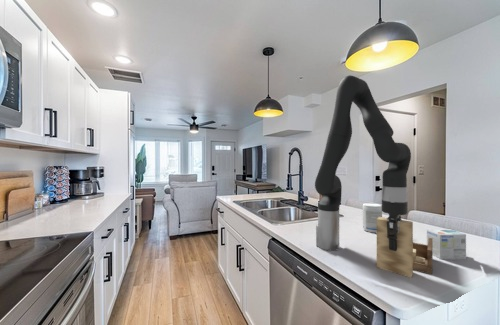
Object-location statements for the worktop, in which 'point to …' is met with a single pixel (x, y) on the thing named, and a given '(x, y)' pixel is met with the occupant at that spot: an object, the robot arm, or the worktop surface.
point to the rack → (424, 256)
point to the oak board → (404, 255)
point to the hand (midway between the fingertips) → (394, 247)
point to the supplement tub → (371, 216)
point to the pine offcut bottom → (419, 260)
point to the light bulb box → (448, 244)
